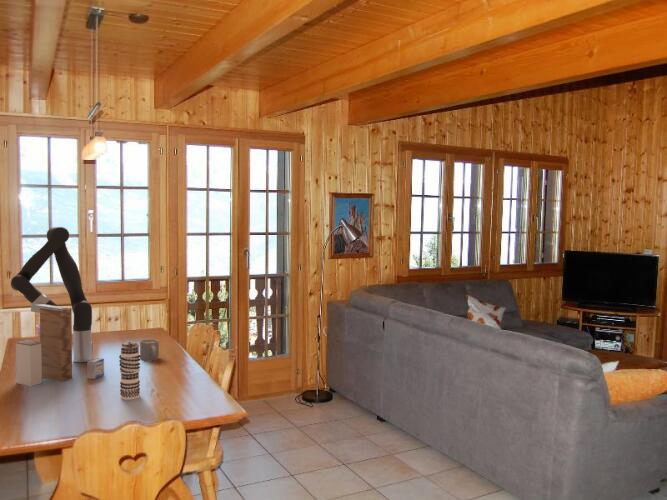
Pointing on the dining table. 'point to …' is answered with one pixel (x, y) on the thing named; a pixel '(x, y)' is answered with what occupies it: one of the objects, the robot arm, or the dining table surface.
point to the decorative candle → (129, 370)
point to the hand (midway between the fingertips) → (69, 325)
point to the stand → (56, 343)
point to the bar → (37, 307)
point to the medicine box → (95, 368)
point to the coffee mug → (149, 349)
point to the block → (28, 362)
